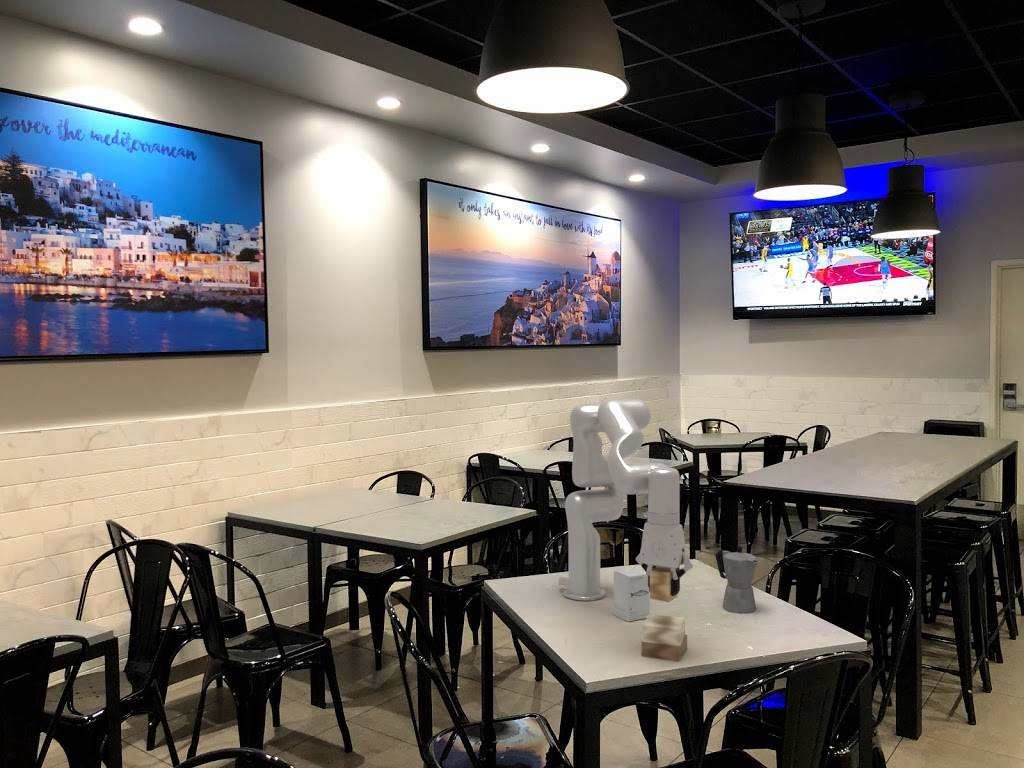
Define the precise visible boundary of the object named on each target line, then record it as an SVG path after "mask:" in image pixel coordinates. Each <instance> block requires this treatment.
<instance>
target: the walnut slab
mask: <svg viewBox="0 0 1024 768" xmlns="http://www.w3.org/2000/svg"><path fill="white" fill-rule="evenodd" d="M687 651H688V634H685V635H684V638H683V640H682V643H681V645H680V646H676V645H667V644H658V643H649V642H643V639H642V640H641V652H640V653H641V654H640V655H641V657H644V658H649V659H650V658H651V659H657V660H662V661H663V660H664V661H671V662H677V663H679V662H680V660H681V659H682V657H683V656H684V655H685V653H686V652H687Z"/></svg>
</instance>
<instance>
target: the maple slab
mask: <svg viewBox="0 0 1024 768" xmlns="http://www.w3.org/2000/svg"><path fill="white" fill-rule="evenodd" d="M684 635H686V617H682V616H679V617H678V616H671V615H670V616H669V615H661V614H660V615H659V614H650V613H649V615H648V617H647V618H645V621H644V622H643V624H642V640H643V642H649V643H658V644H667V645H676V646H680V645H681V643H682V640H683V638H684Z"/></svg>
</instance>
